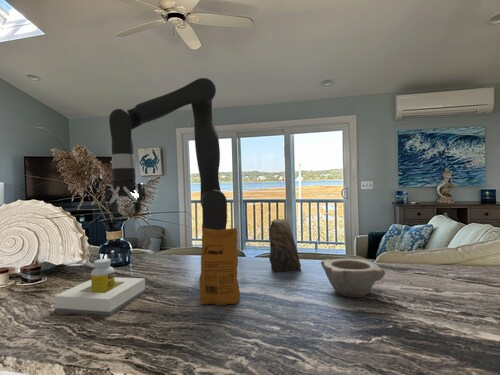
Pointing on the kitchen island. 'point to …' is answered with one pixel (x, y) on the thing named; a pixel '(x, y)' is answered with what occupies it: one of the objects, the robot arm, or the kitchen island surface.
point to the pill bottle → (102, 276)
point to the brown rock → (283, 248)
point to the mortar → (352, 275)
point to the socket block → (99, 297)
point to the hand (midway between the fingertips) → (126, 213)
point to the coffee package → (219, 267)
